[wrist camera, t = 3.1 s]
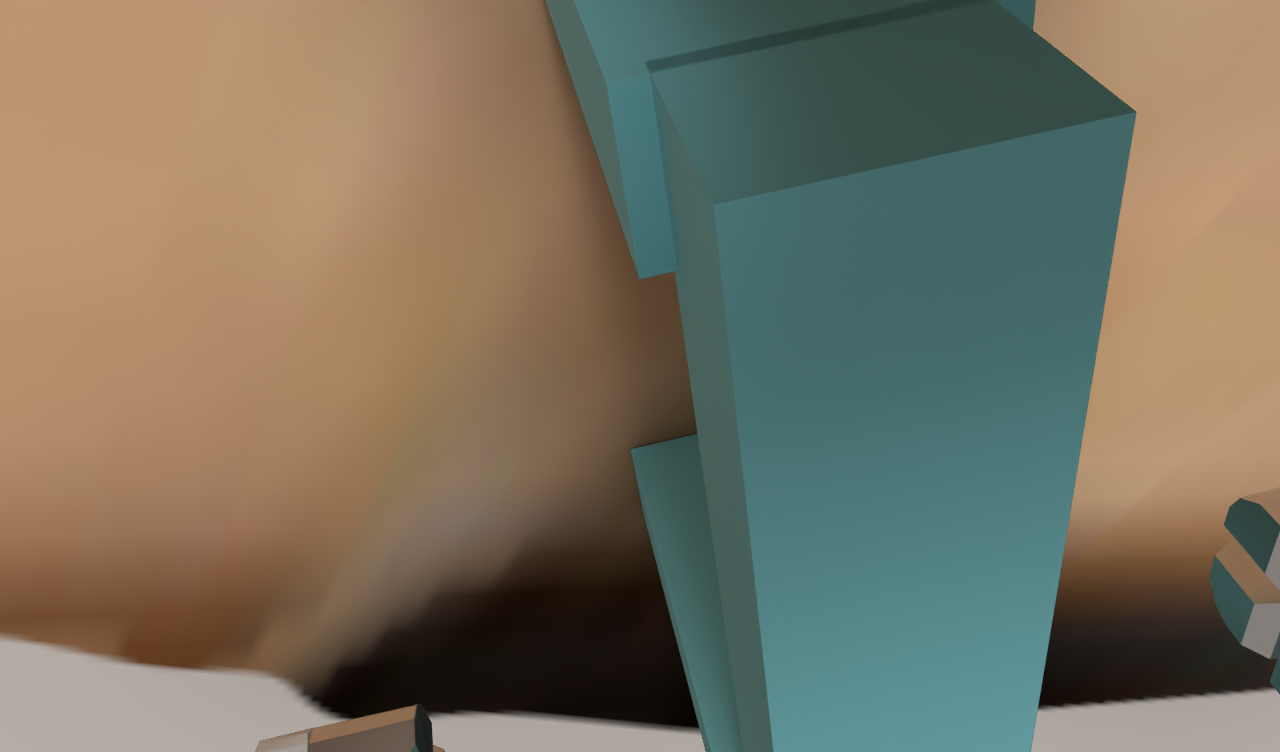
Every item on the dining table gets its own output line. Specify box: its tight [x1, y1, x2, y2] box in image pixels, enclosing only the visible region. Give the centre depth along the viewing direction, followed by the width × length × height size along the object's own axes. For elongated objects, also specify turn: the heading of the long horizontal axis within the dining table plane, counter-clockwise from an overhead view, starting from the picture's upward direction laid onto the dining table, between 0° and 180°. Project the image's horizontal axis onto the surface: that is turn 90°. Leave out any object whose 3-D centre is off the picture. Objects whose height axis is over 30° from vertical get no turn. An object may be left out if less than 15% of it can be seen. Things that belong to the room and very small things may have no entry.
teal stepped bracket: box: [545, 0, 1136, 752], centre depth 13 cm, size 3×12×9 cm, turn 8°
